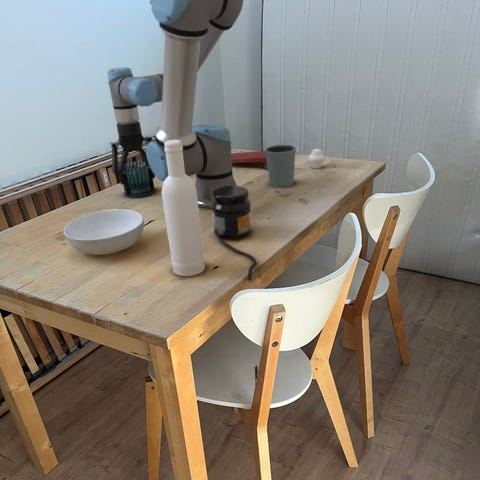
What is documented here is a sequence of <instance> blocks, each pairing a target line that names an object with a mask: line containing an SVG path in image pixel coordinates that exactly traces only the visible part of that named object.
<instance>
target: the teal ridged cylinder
mask: <svg viewBox="0 0 480 480" xmlns="http://www.w3.org/2000/svg"><path fill="white" fill-rule="evenodd" d="M148 168H149V166H148V165H147V163H146V162H145V161H134V162H133V161H131V162H127V163H126V165H125V169H124V174H125V175H126V179H127V184H128V190H129V194H133V195H138V194H144V193H148V192H150V191H151V185H150V178H149V171H148Z"/></svg>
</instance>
